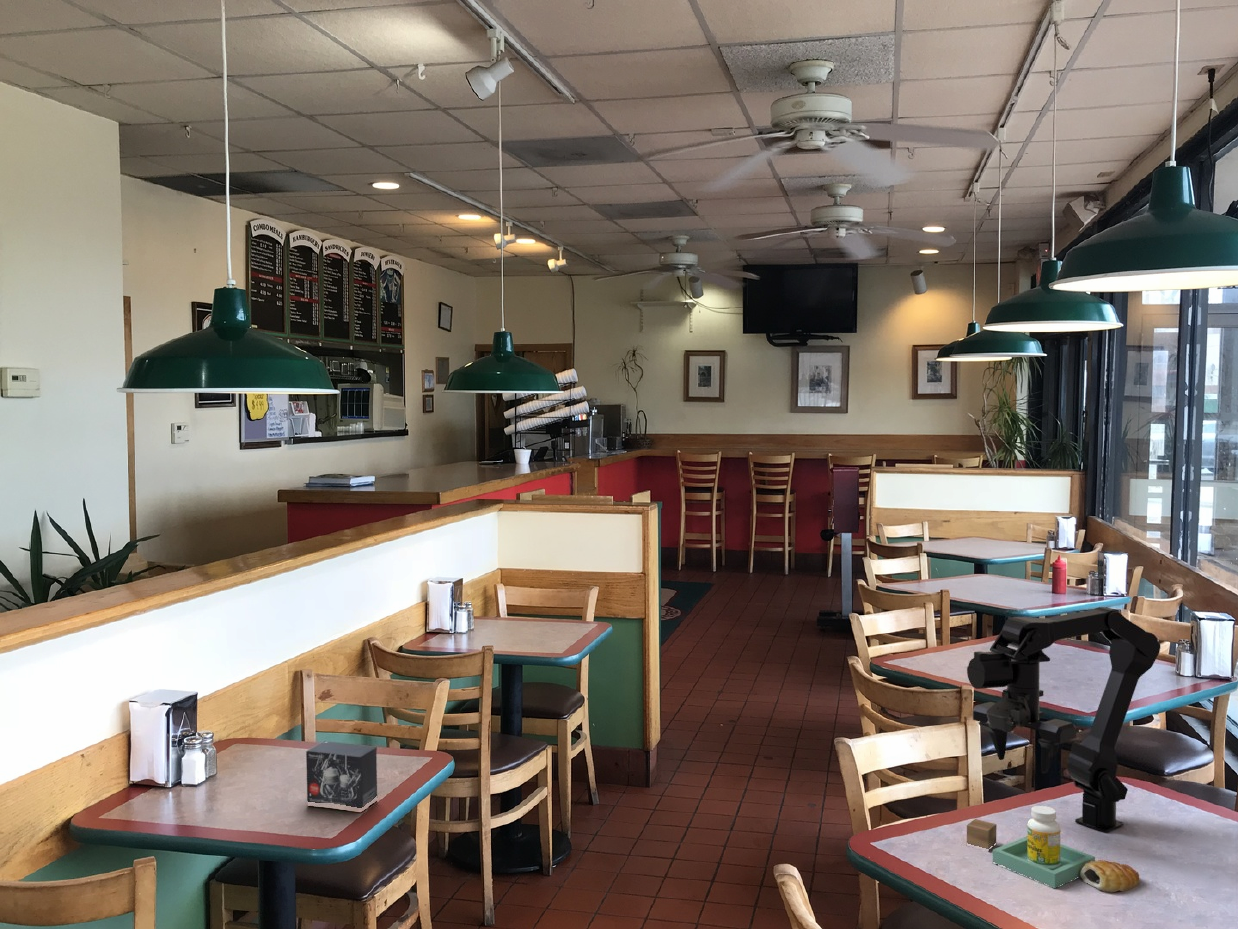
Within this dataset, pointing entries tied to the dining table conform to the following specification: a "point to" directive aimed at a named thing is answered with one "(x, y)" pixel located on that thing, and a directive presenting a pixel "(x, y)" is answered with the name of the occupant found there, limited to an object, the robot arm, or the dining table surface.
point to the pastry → (1109, 875)
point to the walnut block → (981, 833)
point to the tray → (1018, 861)
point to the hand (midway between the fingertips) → (1022, 766)
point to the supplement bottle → (1043, 837)
